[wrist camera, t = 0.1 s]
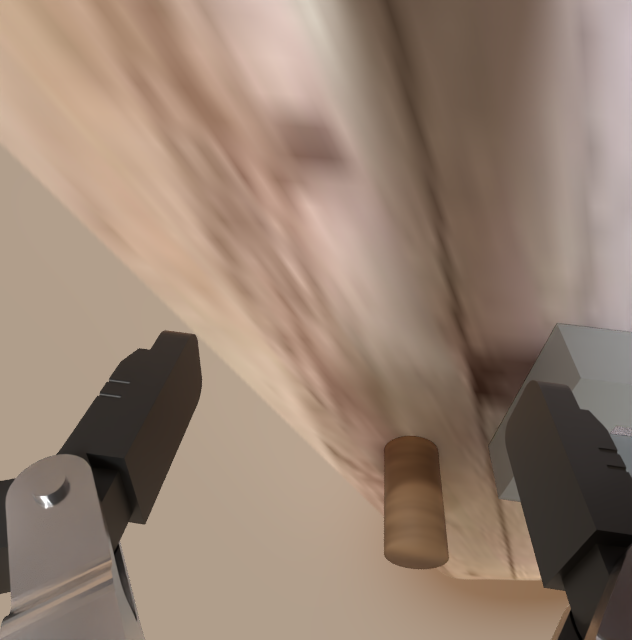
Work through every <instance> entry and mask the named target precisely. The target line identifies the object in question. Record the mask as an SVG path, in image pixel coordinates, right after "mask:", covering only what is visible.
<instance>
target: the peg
mask: <svg viewBox="0 0 632 640" xmlns="http://www.w3.org/2000/svg"><path fill="white" fill-rule="evenodd" d="M384 555H385V557H386V559H387V560H388V561H390V562H391V563H393V564H395V565H398V566H402V567H405V568H411V569H430V568H436V567H439V566H442V565H444V564H445V563H447V561H448V559H449V555H448V545H447V535H446V525H445V515H444V505H443V495H442V485H441V475H440V465H439V455H438V449H437V447H436V445H435V444H434V443H433V442H431V441H429V440H427V439H425V438H421V437H416V436H404V437H399V438H396V439H393V440H391V441H390V442H389V443H388V444H387V445H386V446H385V450H384Z"/></svg>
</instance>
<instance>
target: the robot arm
mask: <svg viewBox="0 0 632 640" xmlns="http://www.w3.org/2000/svg"><path fill="white" fill-rule="evenodd" d="M201 387H202V375H201V366H200V357H199V349H198V340H197V337H196V335H195V334H188V333H181V332H174V331H163V332H161V334H160V335H159V337H158V338H157V340H156V342H155V343H154V345H153V346H152V348H151V349H150V350H147V349H140V348H139V349H137V350H136V351H135V352H133V353H132V354H131V355H129V356H128V357H127V358H125V359H124V360H123V361H121V362H120V364H119V365H118V367H117V368H116V369H115V371H114V372H113V374H112V375H111V377H110V378H109V382H107V383H106V384H105V386H104V387H103V389H102V390H101V391H100V395H99V396H97V397H96V399H95V400H94V401H93V403H92V404H91V406H90V407H89V409H88V410H87V412H86V413H85V415H84V416H83V418H82V419H81V421H80V422H79V424H78V425H77V426H76V428H75V429H74V431H73V432H72V434H71V435H70V437H69V438H68V439H67V441H66V442H65V444H64V445H63V447H62V448H61V449H60V451H59V452H58V453H57V454H56V455H54V456H50V457H47V458H44V459H42V460H39V461H37V462H36V463H34V464H32V465H31V466H29V467H28V468H26V469H25V470H24V471H23V472H21V473H20V474H19V475H18V477H17V478H15V479H10V480H4V481H0V594H2V593H7V592H11V611H10V614H9V615H8V616H6V617H5V618H4V619H3V621H2V624H1V629H0V640H145V638H144V634H143V631H142V628H141V624H140V620H139V616H138V612H137V608H136V604H135V600H134V596H133V592H132V588H131V584H130V580H129V576H128V572H127V567H126V564H125V559H124V556H123V552H122V547H121V543H120V539H121V537H122V534H123V533H124V530H125V528H126V526H127V524H128V522H132V523H138V524H146V521H147V519H148V516H149V514H150V512H151V510H152V507H153V505H154V503H155V500H156V498H157V496H158V494H159V491H160V489H161V486H162V484H163V482H164V480H165V478H166V475H167V473H168V471H169V468H170V466H171V463H172V461H173V459H174V457H175V454H176V452H177V450H178V448H179V445H180V443H181V441H182V438H183V436H184V434H185V431H186V429H187V427H188V425H189V422H190V420H191V417H192V415H193V413H194V411H195V408H196V406H197V404H198V401H199V398H200V393H201ZM505 444H506V449H507V453H508V457H509V460H510V464H511V468H512V471H513V475H514V479H515V483H516V486H517V490H518V494H519V497H520V501H521V505H522V508H523V512H524V516H525V519H526V523H527V527H528V531H529V534H530V538H531V542H532V545H533V549H534V553H535V556H536V560H537V564H538V567H539V571H540V575H541V579H542V582H543V586H544V588H550V589H556V590H563V591H566V594H567V598H568V601H569V604H570V605H569V606H568V607H567V608H566V609H565V611H564V612H563V614H562V617H561V619H560V621H559V624H558V626H557V628H556V630H555V632H554V635H553V637H552V639H551V640H632V477H631V475H630V473H629V472H627V471H626V468H627V467H626V465H625V463H624V461H623V459H622V458H621V456H620V454H618V453H617V451H618V450H617V448H616V446H615V444H614V442H613V440H612V438H611V436H610V434H609V432H608V430H607V429H606V428H605V427H604V425H603V424H602V423H601V422H600V421H599V420H598V419H597V418H596V417H595V416H594V415H593V414H592V413H591V412H590V411H589V410H585V409H580V407H579V405H578V403H577V401H576V399H575V397H574V395H573V393H572V391H571V389H570V388H569V386H567V385H565V384H558V383H551V382H543V381H536V380H532V381H530V382H529V383H528V384H527V385H526V387H525V389H524V391H523V393H522V395H521V397H520V399H519V401H518V403H517V405H516V407H515V409H514V410H513V412H512V414H511V416H510V418H509V420H508V423H507V426H506V431H505Z"/></svg>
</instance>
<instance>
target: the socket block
mask: <svg viewBox="0 0 632 640" xmlns="http://www.w3.org/2000/svg"><path fill="white" fill-rule="evenodd" d="M532 380H536V381H543V382H551V383H558V384H565V385H567V386H569V388H570V389H571V391H572V393H573V395H574V397H575V399H576V401H577V403H578V405H579V407H580V409H585V410H589V411H590V412H591V413H592V414H593V415H594V416H595V417H596V418H597V419H598V420H599V421H600V422H601V423H602V424H603V425H604V427H605V428H606V429H607V430H608V432H609V434H610V432H611V431H612V430H613V429H614V428H615V427H616V426H617V427H625V428H632V332H625V331H616V330H608V329H600V328H591V327H583V326H574V325H566V324H558V323H557V324H556V326H555V328H554V330H553V331H552V333H551V335H550V337H549V339H548V340H547V342H546V344H545V346H544V348H543V349H542V351H541V353H540V355H539V357H538V358H537V360H536V362H535V364H534V365H533V367H532V369H531V371H530V373H529V374H528V376H527V378H526V380H525V382H524V383H523V385H522V387H521V389H520V390H519V392H518V394H517V396H516V398H515V399H514V401H513V403H512V405H511V407H510V408H509V410H508V412H507V414H506V416H505V417H504V419H503V421H502V423H501V424H500V426H499V428H498V430H497V432H496V433H495V435H494V437H493V439H492V441H491V442H490V444H489V446H488V447H489V452H490V457H491V462H492V467H493V472H494V477H495V482H496V487H497V492H498V497H499V499H504V500H511V501H518V502H521V501H520V497H519V494H518V490H517V486H516V483H515V479H514V475H513V471H512V468H511V464H510V460H509V457H508V453H507V449H506V444H505V431H506V426H507V423H508V420H509V418H510V416H511V414H512V412H513V410H514V409H515V407H516V405H517V403H518V401H519V399H520V397H521V395H522V393H523V391H524V389H525V387H526V385H527V384H528V383H529V382H530V381H532ZM610 436H611V438H612V440H613V442H614V444H615V446H616V448H617V450H618V451H617V453H618V454H620V456H621V458H622V459H623V461H624V463H625V465H626V467H627V468H626V471H627V472H629V473H630V475H631V477H632V437H631V436H623V435H616V434H610Z"/></svg>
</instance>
